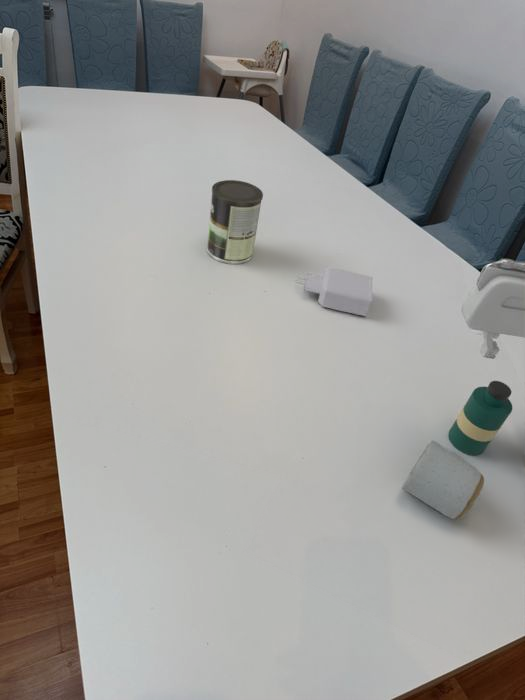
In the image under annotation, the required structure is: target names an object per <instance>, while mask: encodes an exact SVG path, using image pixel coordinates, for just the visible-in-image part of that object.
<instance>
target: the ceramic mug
mask: <svg viewBox="0 0 525 700" xmlns="http://www.w3.org/2000/svg"><path fill="white" fill-rule="evenodd" d="M484 483H485V477H484V475H483V474H482V473H481V472H480V471H479V470H478V469H477V468H475V467H474V466H473V465H472V464H470V463H468V462H467V461H465V460H464V459H462V458H461V457H459V456H458V455H456V454H454V453H453V452H451V451H450V450H448V448H446V447H444V446H443V445H441V444H440V443H438V442H437V441H435V440H430V441H429V443H427V445H426V447H425V449H423V452H422V453H421V454H420V456H419V458H418V460H417V461H416V462H415V464H414V465H413V467H412V469H411V470H410V472H409V474H408V475H407V477H406V478H405V481H404V482H403V484H402V486H401V487H402V489H403V490H404V491H405V492H407V493H409V494H410V495H412V496H413V497H415V498H417V499H419V500H420V501H421V502H423V503H425V504H426V505H428V506H430V507H431V508H433V509H435V510H436V511H437V512H439V513H440V514H441V515H444V516H446V517H448V518H450V519H452V520H461V519H462V518H464V517H465V516H466V515H467V514H468V512H469V511H470V510H471V508H472V507H473V505H474V504H475V502H476V500H477V499H478V497H479V495H480V493H481V491H482V489H483V487H484Z"/></svg>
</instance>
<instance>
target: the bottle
mask: <svg viewBox="0 0 525 700" xmlns="http://www.w3.org/2000/svg"><path fill="white" fill-rule="evenodd" d="M511 394H512V389H511V388H510V386H509V385H507V384H506V383H504V382H503V381H499V380H492V381H489V384H488V385H487V386H478V387H476V388H474V390H472V393H471V394H470V396H469V397H468V399H467V400H466V403H465V404H464V405H463V407H462V408H461V410H460V411H459V413H458V415H457V418H455V421H454V422H453V424H452V426H451V427H450V429H449V431H448V434H447V435H448V440H449V442H450V443H451V445H452V446H453V447H454V448H455V449H456V450H458V451H459V452H461V453H463V454H465V455H469V456H480V455H481V454H483V453H484V452H485V450H486V449H487V447H488V446H489V445H490V443H491V442H492V440H493V439H494V438H495V437H496V435H497V434H498V432H499V431H500V430H501V428H502V427H503V425H504V423H505V422H506V421H507V419H508V418H509V416H510V415H511V413H512V412H513V403H512V402H511V400H510V399H509V398H510V396H511Z"/></svg>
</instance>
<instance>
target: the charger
mask: <svg viewBox="0 0 525 700" xmlns="http://www.w3.org/2000/svg"><path fill="white" fill-rule="evenodd" d="M296 279H298V280H295V282H294V283H295V284H296V283H297V284H300V285H304V289H303V290H304V291H305V292H308V293H309V292H310V293H314V294H318V300H317V303H318V304H319V305H320V306H321V307H322V308H327V309H331V310H337V311H340V312H344V313H349V314H353V315H358V316H362V317H367V314H368V312H369V309H370V307H371V303H372V299H373V276H370V275H367V274H361V273H356V272H353V271H348V270H343V269H340V268H335V267H327V268H325V269H324V272H323V275H322V276H319V275H315V274H312V273H311V274H310V273H307V275H306V277H303V276H300V275H299V276H298V275H297V276H296ZM301 280H303V281H301ZM304 281H305V282H304Z"/></svg>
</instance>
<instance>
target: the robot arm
mask: <svg viewBox="0 0 525 700" xmlns="http://www.w3.org/2000/svg"><path fill="white" fill-rule="evenodd" d="M461 315H462V318H463V320H464V322H465V324H466V326H467V327H468V328H469V329H470V330H474V331H482V334H483V343H482V344H481V346H480V349H479V353H480V355H481V357H482V358H486V359H492V360H494V359H496V357H497V355H498V354H499V352H500V347H499V346H498V343H497V341H496V340H497V339H498V338H499V336H500V335H506V336H512V337H519V338H524V339H525V261H517V260H514V259H510V258H500V259H499V260H496V261H491V262H489V263H488V264H485V265H484V266H483V267H482V269H481V271H480V273H479V275H478V277H477V279H476V283H475V284H474V286H473V287H472V288H471V290H470V292H469V293H468V294H467V296H466V298H465V299H464V301H463V303H462V305H461ZM493 339H496V340H493Z"/></svg>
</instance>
